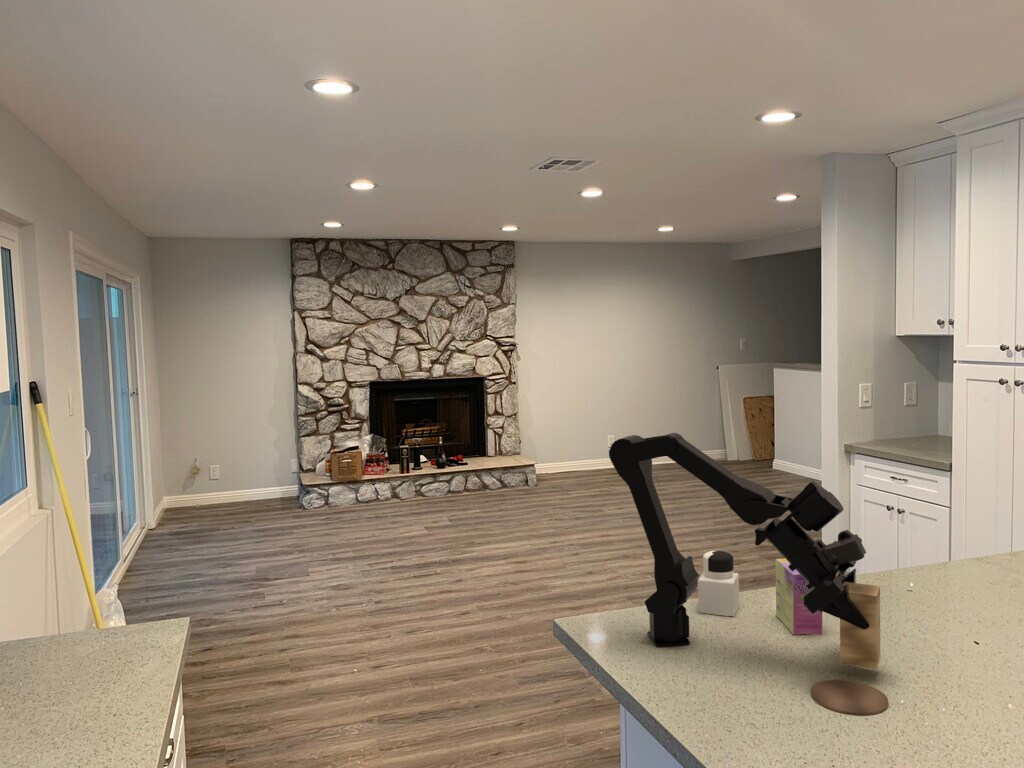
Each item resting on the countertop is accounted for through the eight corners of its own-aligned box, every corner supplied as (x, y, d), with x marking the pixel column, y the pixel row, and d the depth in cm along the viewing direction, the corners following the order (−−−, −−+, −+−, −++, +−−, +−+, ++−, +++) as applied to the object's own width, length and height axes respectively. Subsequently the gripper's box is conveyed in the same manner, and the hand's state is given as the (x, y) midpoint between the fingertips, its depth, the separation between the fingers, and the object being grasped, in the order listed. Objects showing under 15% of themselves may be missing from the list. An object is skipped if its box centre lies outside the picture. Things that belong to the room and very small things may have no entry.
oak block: (840, 662, 127) (839, 591, 126) (844, 650, 132) (844, 581, 131) (876, 669, 124) (876, 595, 123) (880, 656, 129) (880, 586, 128)
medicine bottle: (739, 606, 162) (738, 550, 161) (734, 617, 155) (732, 559, 155) (705, 602, 165) (704, 547, 164) (698, 613, 158) (697, 556, 158)
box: (823, 634, 145) (823, 573, 144) (793, 635, 145) (792, 574, 144) (804, 615, 155) (803, 557, 155) (775, 616, 155) (774, 558, 155)
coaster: (832, 717, 113) (832, 714, 113) (798, 685, 124) (798, 682, 124) (903, 712, 114) (903, 709, 114) (863, 680, 125) (863, 677, 125)
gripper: (824, 531, 121) (903, 611, 115) (842, 507, 137) (912, 576, 131) (773, 574, 125) (847, 652, 120) (796, 546, 141) (862, 614, 136)
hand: (869, 621), depth 127 cm, fingers closed on oak block, 5 cm apart
